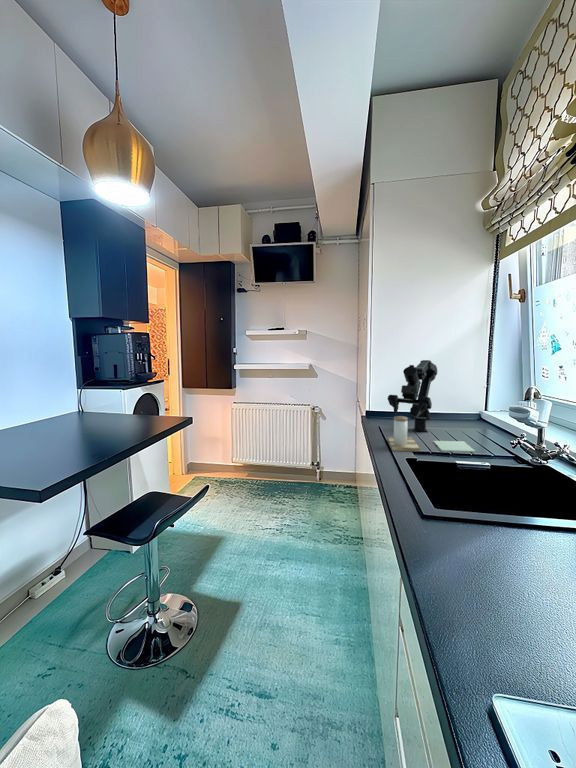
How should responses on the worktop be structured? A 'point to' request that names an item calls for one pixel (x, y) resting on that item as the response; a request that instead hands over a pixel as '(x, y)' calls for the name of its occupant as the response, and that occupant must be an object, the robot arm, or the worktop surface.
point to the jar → (400, 430)
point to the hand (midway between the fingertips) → (405, 416)
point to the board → (410, 446)
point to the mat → (453, 446)
